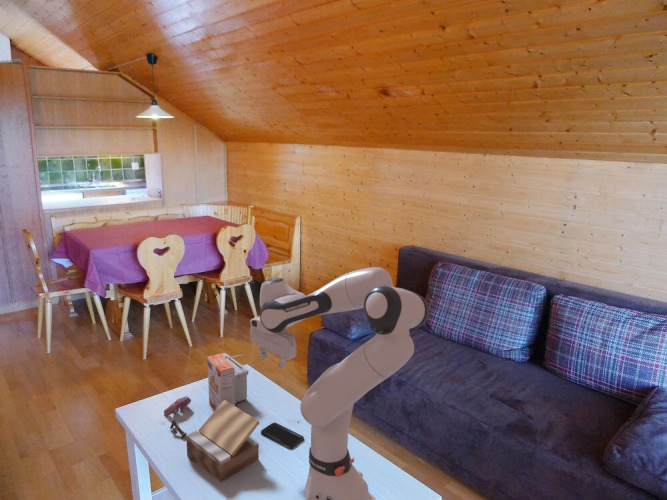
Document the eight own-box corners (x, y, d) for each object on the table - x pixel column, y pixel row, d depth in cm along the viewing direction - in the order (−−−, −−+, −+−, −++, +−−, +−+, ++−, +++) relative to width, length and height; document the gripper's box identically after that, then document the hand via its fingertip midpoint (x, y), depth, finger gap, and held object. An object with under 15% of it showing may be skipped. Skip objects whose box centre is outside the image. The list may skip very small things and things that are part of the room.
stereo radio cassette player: (208, 385, 207) (206, 341, 202) (225, 379, 212) (224, 337, 208) (231, 406, 192) (231, 360, 187) (250, 400, 197) (249, 354, 192)
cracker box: (208, 403, 193) (206, 355, 188) (222, 399, 196) (221, 352, 191) (220, 421, 182) (219, 370, 177) (236, 417, 185) (235, 367, 180)
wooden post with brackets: (171, 425, 177) (174, 416, 175) (184, 440, 174) (187, 432, 172) (167, 427, 176) (169, 419, 174) (180, 443, 172) (182, 435, 170)
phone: (274, 421, 182) (305, 437, 173) (274, 424, 182) (305, 439, 173) (259, 431, 175) (290, 448, 167) (259, 434, 176) (290, 451, 167)
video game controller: (169, 421, 183) (174, 409, 180) (161, 413, 185) (166, 401, 182) (189, 409, 191) (194, 398, 188) (182, 401, 193) (187, 390, 190)
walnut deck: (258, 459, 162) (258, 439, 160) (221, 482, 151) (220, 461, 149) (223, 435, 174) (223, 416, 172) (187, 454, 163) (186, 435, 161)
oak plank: (259, 422, 160) (257, 420, 159) (233, 456, 153) (230, 454, 152) (226, 402, 171) (224, 399, 170) (200, 432, 165) (198, 430, 164)
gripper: (301, 331, 159) (300, 369, 162) (261, 314, 172) (261, 349, 175) (287, 336, 154) (286, 376, 157) (246, 318, 167) (247, 355, 170)
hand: (272, 362), depth 166 cm, fingers open, 8 cm apart
